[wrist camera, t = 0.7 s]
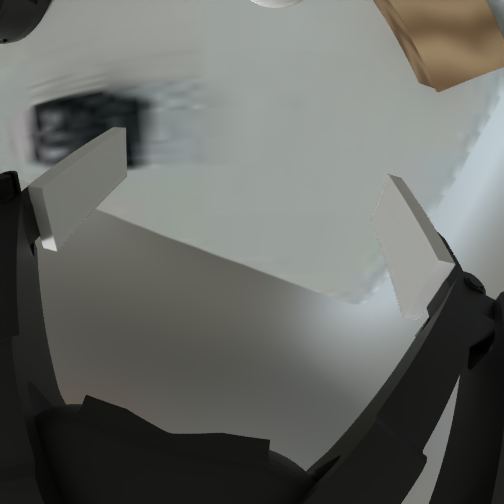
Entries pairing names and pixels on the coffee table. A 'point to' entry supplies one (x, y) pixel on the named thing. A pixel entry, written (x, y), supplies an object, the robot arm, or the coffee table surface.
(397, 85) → the coffee table surface
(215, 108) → the coffee table surface
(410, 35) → the walnut box
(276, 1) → the mug
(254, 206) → the coffee table surface
